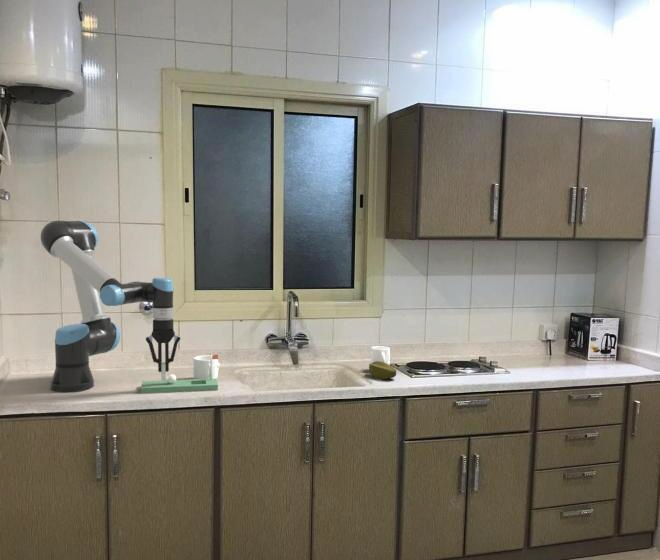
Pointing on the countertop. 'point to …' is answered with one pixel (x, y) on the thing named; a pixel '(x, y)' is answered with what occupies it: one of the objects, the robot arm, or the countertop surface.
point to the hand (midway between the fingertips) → (163, 380)
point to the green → (181, 384)
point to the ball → (171, 378)
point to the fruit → (381, 370)
